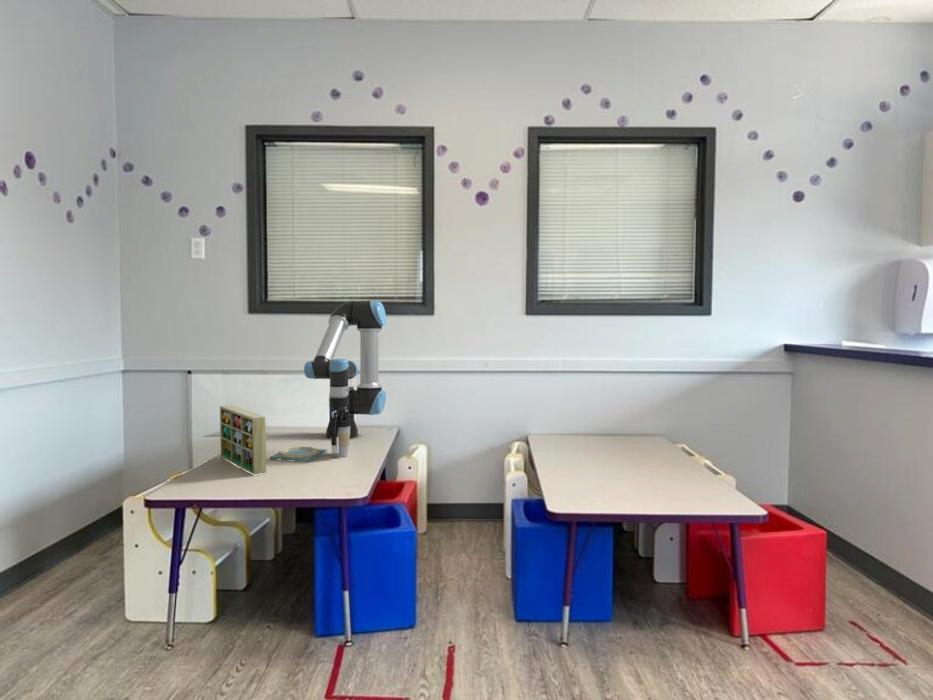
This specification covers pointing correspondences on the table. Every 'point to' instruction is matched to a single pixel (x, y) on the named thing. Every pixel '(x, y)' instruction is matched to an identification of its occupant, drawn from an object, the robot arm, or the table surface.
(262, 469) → the beige cubby shelf
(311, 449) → the ring mat
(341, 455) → the coffee cup
